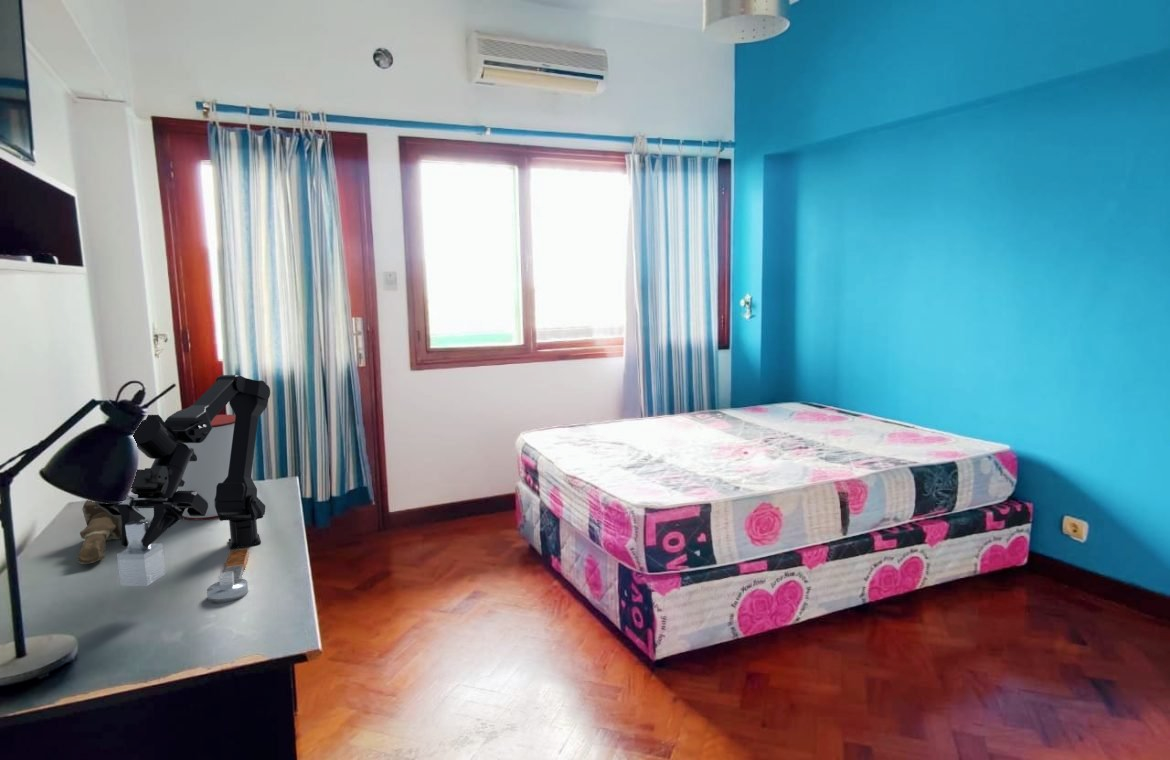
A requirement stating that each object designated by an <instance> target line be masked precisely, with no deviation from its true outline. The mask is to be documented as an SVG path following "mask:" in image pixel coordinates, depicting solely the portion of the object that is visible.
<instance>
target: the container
mask: <svg viewBox="0 0 1170 760" xmlns="http://www.w3.org/2000/svg"><path fill="white" fill-rule="evenodd" d="M234 423H235V414H217V415H216V416H215V417H214V418H213V420H212V421H211V425H212V429H211V431H210V432H209V434H208V435H207V437H206V439H205V440H204V441H203V442H201V443H184V444H186V445H187V446H188V447H189V448H193V449H194V453H195V454H196V456H197V461H189V463H188V465H187V467H186V470H185V472H184V474H183V477H182V480H183V481H184V482H185V483H184V486H183V487H178V489H177V491H196V492H197V493H198V494H199V495H200V496H202V497H203V498H204V499H205V500H206V501H207V503H208V509H207V512H206V514H205V516H190V515H189V513H188V512H187V510H188V508H187V509H185V510H184V513H183V516H184V519H183V520H188V521H205V520H206V521H207V520H214V519H215V518H216V519H219V517H218V514H217V511H216V509H215V501H214V499H215V497H216V487H217V485H218V483H223V482H224V480H225V479H226V478H227V476H228V470H229V462H230V454H231V447H232V439H233V431H234Z"/></svg>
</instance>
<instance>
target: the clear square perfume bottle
mask: <svg viewBox="0 0 1170 760" xmlns="http://www.w3.org/2000/svg"><path fill="white" fill-rule="evenodd" d="M149 521H150V520H149V519H145V520H136V521H132V522H129V523H127V524H125V529H126V537H127V545H128V546H127V548H126V549H123V550H122V551H121V552H119V553H117V554H116V557H117V558H116V560H117V567H118V572H119V573H118V575H119V582H120V586H123V587H125V586H132V587H134V586H135V587H136V586H137V587H138V586H140V587H141V586H144V587H145V586H146V587H147V586H149V585H151V584H152V583H154V582H155V581H157V580H158V579H160V578H161V577H163V576H164V575H165V574H166V565H165V558H164V549H163V548H164V547H163V543H151V544H150V545H149V546H148V547H144V546H143V541H144V538H145V535H146V533H147V530H148V528H149V526H150V522H149Z"/></svg>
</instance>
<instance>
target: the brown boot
mask: <svg viewBox="0 0 1170 760" xmlns="http://www.w3.org/2000/svg"><path fill="white" fill-rule="evenodd" d="M88 500H89V499H88ZM88 500H86V501H84V503H83V507H82V513H83V517H84V521H85V522H86V527H85V528H84V529H82V530H81V531H80V532H79V536H80V538H81V539H83V540H84V541H83V542H82V544H81V547H80V550H79V552H78V554H77V555H78V557H77V559H78V563H79V564H81V565H82V564H86V565H88V564H93V563H95V562H97V561H100V560H103V559H104V558H105V555H104V551H105V550H106V548H107V546H106V545H107V544H106V543H107V542H106V541H112V540H111V539H113V540H114V539H117V540H120V538H121V533H122V521H121V516H112V515H110V514H108V513H107V512H105V511H104V510H103V509H101V508H100V507H98V506H97V505H96V504H94V503H95V502H92V501H88Z"/></svg>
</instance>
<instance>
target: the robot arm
mask: <svg viewBox="0 0 1170 760" xmlns="http://www.w3.org/2000/svg"><path fill="white" fill-rule="evenodd" d="M270 396H271V388H270V386H269V385H268V384H266V382H265V381H264V380H255V379H251V378H247V377H244V376H242V375H239V374H222V375H218V376H217V378H215V382H214V383H213V384H212V385H211V386H210V387H209V388H207V390H206V391H205V392H204V393H203V394H201V396H199V398H198V399H196V401H195V402H193V404H191V405H190V406H189V407H186V408H183V409H180V410H178V411H175V412H174V413H172V414H171V415H169V416H168V417H166V419H165V420H163V418H162V417H161V416H160V415H159V414H148V415H147V416H146V418H145V419H143V420H141V421H142V422H141V424H140V425H139V427H138V428H137V430H136V431H135V433H134V435H133V437H134V439H135V441H136V443H137V447H138V448H137V447H136V448H137V449H138V450H139V451H140V452H142V453H143V454H144V456H146V457H148V458H149V459H151V460H154V461H153V462H152V465H151V467H150V468H149V467H147V468H146V467H145V468H144V469H136V470H137V472H136V476H135V479H134V482H133V484H132V487H131V488H130V489H131V490H130V492H131V493H132V494H133V495H137V497H132V496H129V495H127V494H126V495H127V498H126V500H125V501H124V502H122V503H119V504H106V503H101V502H96V501H95V503H94V504H96V505H97V506H98V507H100V508H101V509H103V510H104V511H105V512H107V513H108V514H110V515H112V516H121V521H122V533H121V540H120V544H121V546H122V547H123V548H128V545H127V537H126V529H125V524H127V523H129V522H132V521H136V520H146V517H145V516H144V515H142V514H141V510H142V509H153V517H152V519H151V521H150V522H149V528H148V530H147V533H146V535H145V538H144V541H143V546H144V547H148V546H149V545H150V544H153V543H154V542H155V541H156V540H157V539H158V538H159V537H160V536H162V535H163V534H164V533H165V532H166V531H167V530H169V529H170V528H171V527H172V526H173V525H175V524H176V523H178V522H179V521H183V520H185V519H184V516H183V513H184V510H185V509H187V508H188V510H187V512H188V513H189V515H190V516H205V514H206V512H207V509H208V503H207V501H206V500H205V499H204V498H203V497H202V496H200V495H199V494H198V493H197V492H196V491H178V490H177V489H178V487H183V486H184V483H185V482H184V481H183V480H182V477H183V474H184V472H185V470H186V467H187V465H188V463H189V461H197V456H196V454H195V453H194V449H193V448H189V447H188V446H187V445H186V444H184V443H201V442H203V441H204V440H205V439H206V437H207V435H208V434H209V432H210V431H211V429H212V425H211V421H212V420H213V418H214V417H215V416H216V415H219V413H220V412H221V411H222V410H224V409H223V408H225V407H226V406H227V404H229V405H230V408H231V410H232V412H233V415H235V423H234V431H233V439H232V447H231V454H230V462H229V470H228V476H227V478H226V479H225V480H224V482H223V483H218V485H217V487H216V497H215V499H214V501H215V509H216V511H217V514H218V517H219V518H218V519H219V522H220V521H221V522H222V521H228V523H229V525H228V526H229V534H230V537H229V538H228V544H229V549H230V550H236V549H241V548H245V547H250V546H255V545H260V544H261V543H262V540H261V537H260V534H259V532H258V524H257V523H258V522H257V520H259V519H263V518H264V515H265V513H266V504H265V503H264V502H263V501H262V500H261V499H260V498H259V497H258V488H257V486H256V484H255V482H254V480H253V478H252V472H253V463H254V462H253V461H254V455H255V447H256V438H257V430H258V424H259V423H258V422H259V417H260V416H261V415H262V414H263V413H264V411H265V410H266V409H267V407H268V402H269V399H270Z"/></svg>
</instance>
